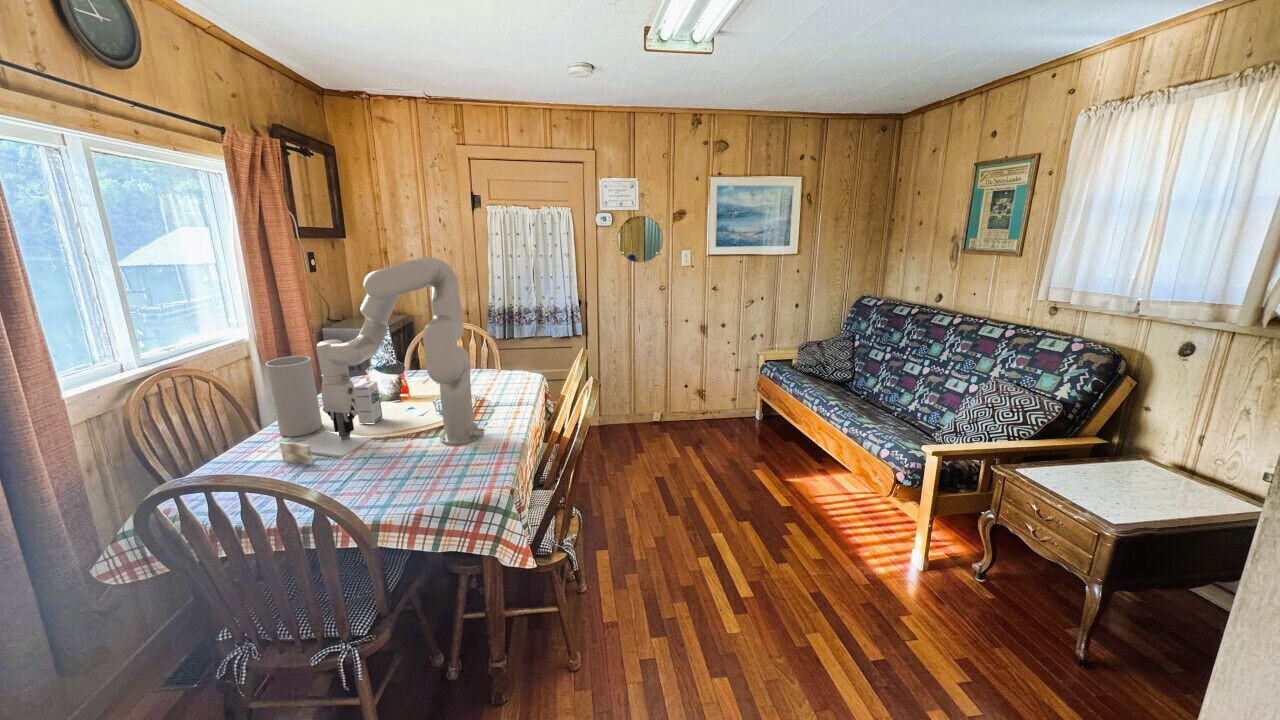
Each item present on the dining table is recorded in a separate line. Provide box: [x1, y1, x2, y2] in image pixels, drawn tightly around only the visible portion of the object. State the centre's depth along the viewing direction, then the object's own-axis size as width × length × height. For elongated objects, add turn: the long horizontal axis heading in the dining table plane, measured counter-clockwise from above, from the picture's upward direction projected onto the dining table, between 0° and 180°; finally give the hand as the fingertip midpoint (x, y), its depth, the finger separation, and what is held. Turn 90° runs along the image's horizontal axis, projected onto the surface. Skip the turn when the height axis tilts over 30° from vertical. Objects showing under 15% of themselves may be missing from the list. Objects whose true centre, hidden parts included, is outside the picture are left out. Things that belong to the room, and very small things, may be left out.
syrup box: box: [354, 380, 384, 424], centre depth 183 cm, size 6×6×14 cm
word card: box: [279, 441, 314, 465], centre depth 154 cm, size 10×1×6 cm, turn 77°
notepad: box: [299, 430, 375, 459], centre depth 167 cm, size 20×16×1 cm
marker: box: [335, 412, 352, 440], centre depth 169 cm, size 4×4×12 cm
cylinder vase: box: [265, 355, 323, 438], centre depth 174 cm, size 12×12×25 cm
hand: (344, 430), depth 170 cm, fingers closed on marker, 3 cm apart
